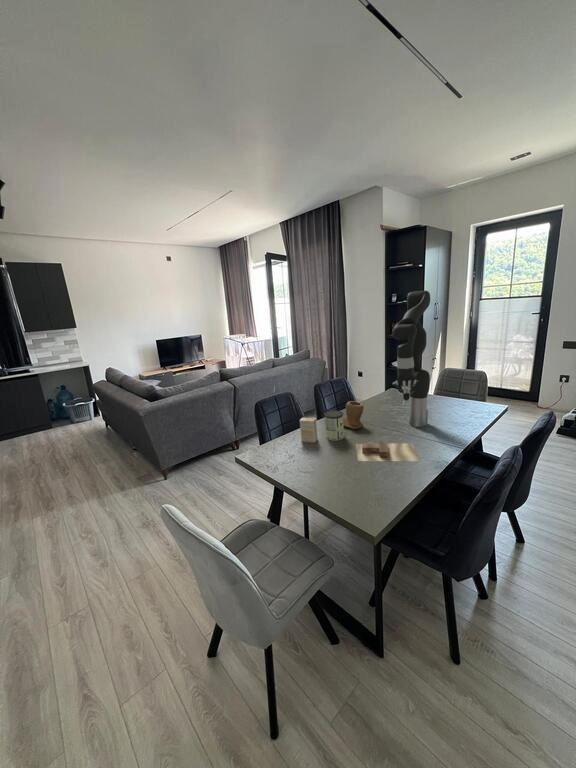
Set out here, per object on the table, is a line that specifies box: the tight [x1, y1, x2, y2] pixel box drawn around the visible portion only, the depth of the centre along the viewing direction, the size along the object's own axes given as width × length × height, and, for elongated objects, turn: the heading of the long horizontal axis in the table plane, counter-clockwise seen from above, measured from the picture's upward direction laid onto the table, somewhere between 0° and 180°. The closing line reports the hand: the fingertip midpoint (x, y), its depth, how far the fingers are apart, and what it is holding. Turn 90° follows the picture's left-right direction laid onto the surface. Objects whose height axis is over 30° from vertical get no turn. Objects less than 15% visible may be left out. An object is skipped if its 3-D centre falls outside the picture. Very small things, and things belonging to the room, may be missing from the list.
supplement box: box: [299, 417, 319, 444], centre depth 169 cm, size 8×5×13 cm, turn 65°
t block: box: [361, 440, 389, 458], centre depth 151 cm, size 12×12×3 cm
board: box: [355, 442, 422, 462], centre depth 150 cm, size 28×18×1 cm, turn 81°
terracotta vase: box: [343, 400, 364, 430], centre depth 185 cm, size 15×12×15 cm
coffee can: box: [324, 410, 345, 442], centre depth 171 cm, size 10×10×14 cm
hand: (406, 399), depth 152 cm, fingers closed
